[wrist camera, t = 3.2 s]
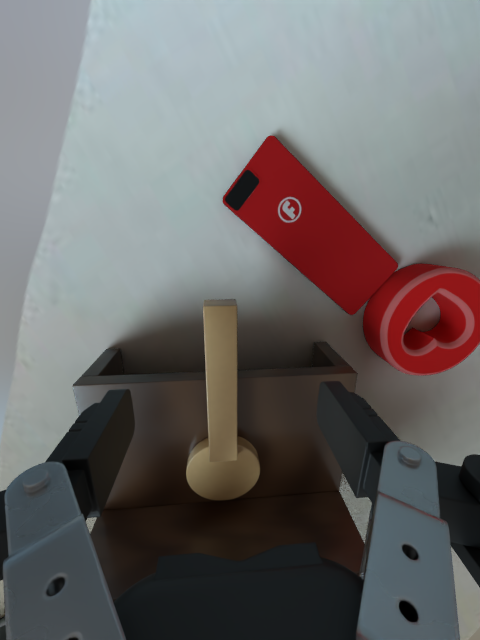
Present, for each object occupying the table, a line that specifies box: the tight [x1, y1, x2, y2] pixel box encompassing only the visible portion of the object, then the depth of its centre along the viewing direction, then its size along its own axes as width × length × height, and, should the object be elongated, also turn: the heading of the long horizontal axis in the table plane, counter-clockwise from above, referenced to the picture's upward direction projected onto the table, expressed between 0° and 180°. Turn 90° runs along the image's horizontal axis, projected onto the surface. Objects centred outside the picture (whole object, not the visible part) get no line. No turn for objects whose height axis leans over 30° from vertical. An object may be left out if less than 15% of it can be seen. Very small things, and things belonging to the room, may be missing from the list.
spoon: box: [186, 299, 260, 501], centre depth 19 cm, size 6×16×2 cm, turn 0°
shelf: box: [73, 342, 365, 602], centre depth 21 cm, size 20×20×13 cm
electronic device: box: [223, 135, 398, 315], centre depth 22 cm, size 6×1×15 cm
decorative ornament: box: [363, 264, 480, 376], centre depth 24 cm, size 10×10×3 cm
